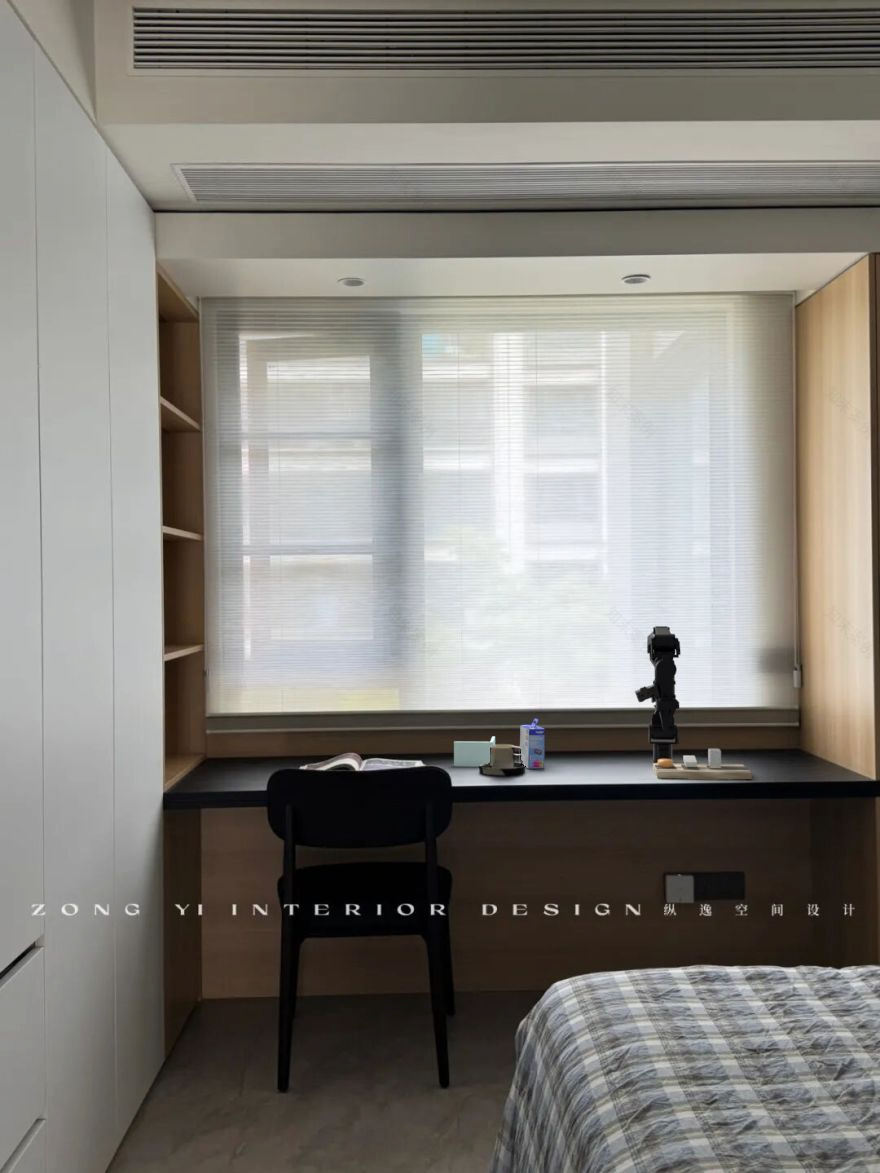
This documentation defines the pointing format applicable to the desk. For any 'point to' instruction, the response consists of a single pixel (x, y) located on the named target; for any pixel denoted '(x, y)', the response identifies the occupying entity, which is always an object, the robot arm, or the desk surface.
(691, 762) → the block
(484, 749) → the right angle wall
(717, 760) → the metal slider
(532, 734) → the ink cartridge box
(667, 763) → the orange button
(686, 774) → the control panel
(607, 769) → the desk surface
